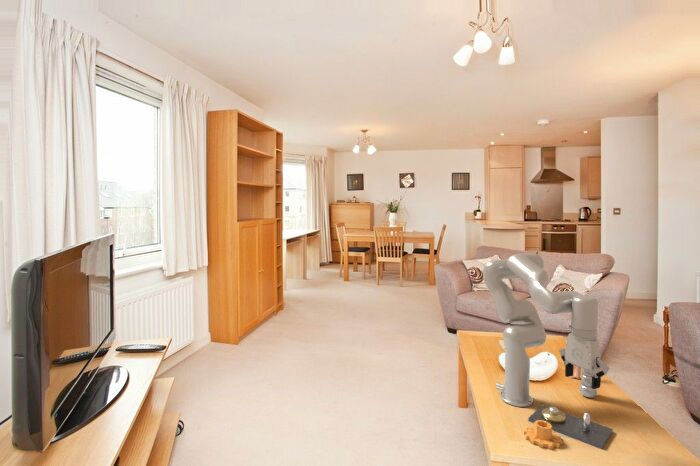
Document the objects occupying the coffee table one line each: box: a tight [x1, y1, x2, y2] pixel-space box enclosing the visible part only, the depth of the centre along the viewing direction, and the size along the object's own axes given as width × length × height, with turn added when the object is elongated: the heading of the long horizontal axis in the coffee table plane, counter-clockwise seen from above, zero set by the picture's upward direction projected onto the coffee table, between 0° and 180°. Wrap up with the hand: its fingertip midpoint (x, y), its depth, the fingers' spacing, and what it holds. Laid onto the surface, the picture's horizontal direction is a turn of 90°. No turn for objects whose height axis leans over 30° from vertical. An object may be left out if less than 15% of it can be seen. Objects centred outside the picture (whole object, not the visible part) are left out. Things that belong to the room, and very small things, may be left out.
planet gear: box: [523, 420, 563, 450], centre depth 134 cm, size 12×12×5 cm
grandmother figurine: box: [569, 365, 582, 380], centre depth 182 cm, size 8×4×13 cm, turn 76°
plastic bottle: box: [579, 368, 598, 399], centre depth 164 cm, size 6×7×20 cm
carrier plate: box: [527, 404, 614, 450], centre depth 142 cm, size 24×14×7 cm, turn 44°
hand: (582, 381), depth 131 cm, fingers open, 9 cm apart
